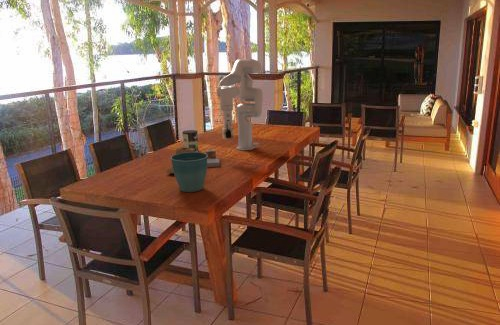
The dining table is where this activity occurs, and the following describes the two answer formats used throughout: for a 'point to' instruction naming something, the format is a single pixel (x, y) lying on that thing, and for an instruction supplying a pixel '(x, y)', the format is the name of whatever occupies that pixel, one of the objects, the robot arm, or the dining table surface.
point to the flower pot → (190, 170)
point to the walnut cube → (211, 153)
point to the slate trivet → (213, 162)
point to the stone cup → (178, 150)
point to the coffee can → (190, 139)
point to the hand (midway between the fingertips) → (227, 136)
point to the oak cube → (225, 133)
